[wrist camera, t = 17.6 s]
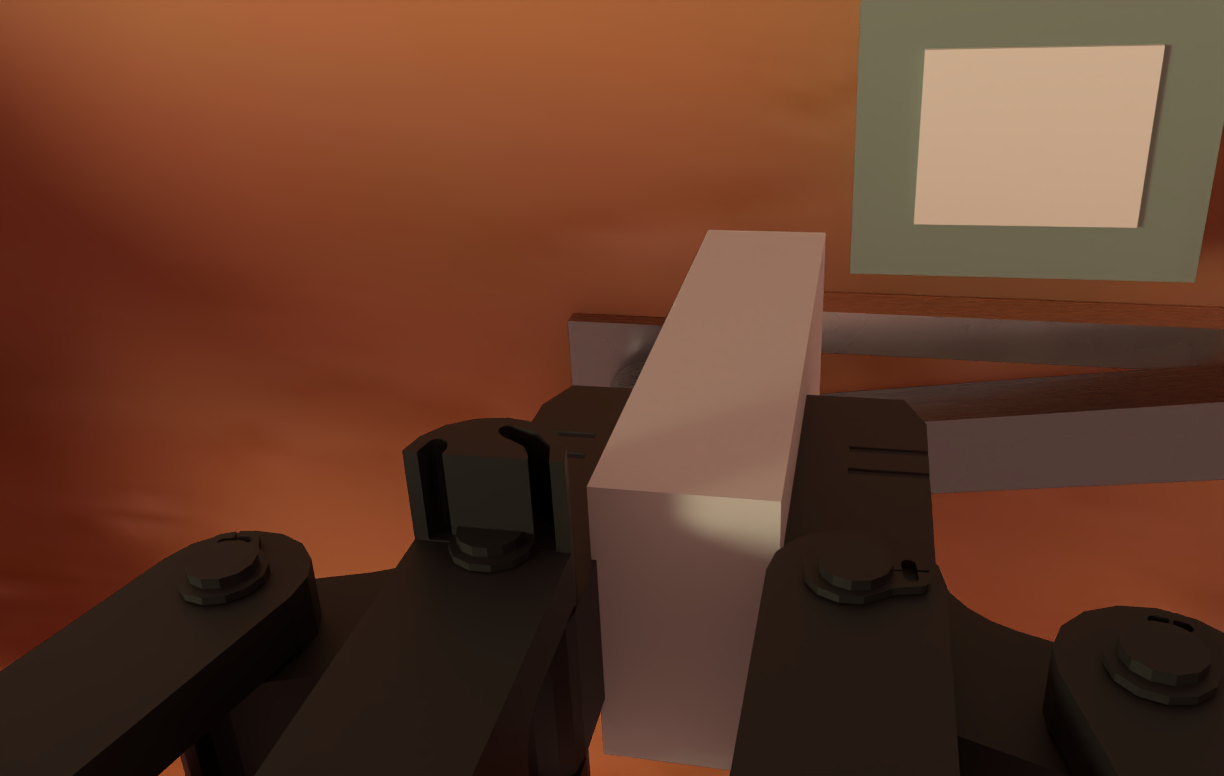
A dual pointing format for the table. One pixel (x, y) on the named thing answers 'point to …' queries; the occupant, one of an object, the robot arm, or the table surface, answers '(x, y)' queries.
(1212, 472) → the cable arm
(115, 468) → the table surface
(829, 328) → the frame
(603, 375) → the post
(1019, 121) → the panel
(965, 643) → the robot arm
